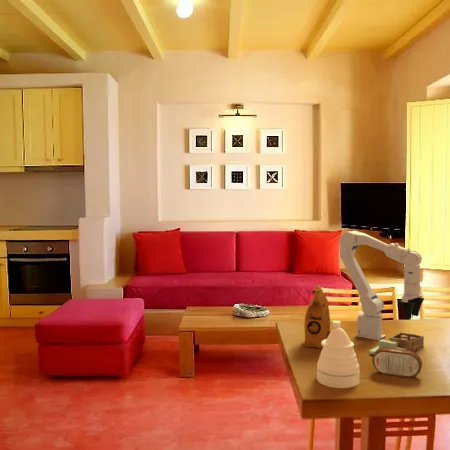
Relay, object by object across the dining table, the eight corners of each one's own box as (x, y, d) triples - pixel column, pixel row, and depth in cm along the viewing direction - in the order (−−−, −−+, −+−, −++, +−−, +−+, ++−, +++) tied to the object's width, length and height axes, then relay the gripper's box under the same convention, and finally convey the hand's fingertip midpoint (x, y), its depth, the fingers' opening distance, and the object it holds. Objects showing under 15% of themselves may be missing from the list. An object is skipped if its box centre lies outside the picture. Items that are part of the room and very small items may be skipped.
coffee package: (300, 347, 191) (300, 289, 190) (308, 338, 202) (308, 284, 201) (326, 350, 187) (327, 291, 186) (332, 341, 198) (333, 285, 197)
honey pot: (312, 373, 162) (312, 318, 161) (351, 372, 163) (352, 317, 162) (323, 388, 150) (323, 329, 149) (365, 387, 150) (365, 328, 149)
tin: (422, 377, 159) (422, 351, 158) (421, 380, 156) (421, 353, 155) (373, 370, 165) (373, 345, 165) (371, 373, 162) (371, 347, 162)
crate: (389, 348, 189) (389, 337, 189) (400, 342, 196) (400, 332, 196) (413, 352, 183) (413, 342, 183) (423, 346, 190) (423, 336, 190)
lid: (368, 355, 181) (369, 342, 181) (381, 348, 189) (381, 336, 189) (394, 361, 175) (395, 347, 175) (406, 353, 183) (406, 340, 183)
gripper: (415, 286, 186) (414, 322, 187) (429, 281, 197) (428, 315, 198) (396, 284, 191) (396, 319, 191) (411, 279, 202) (410, 313, 202)
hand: (411, 317), depth 195 cm, fingers open, 7 cm apart
